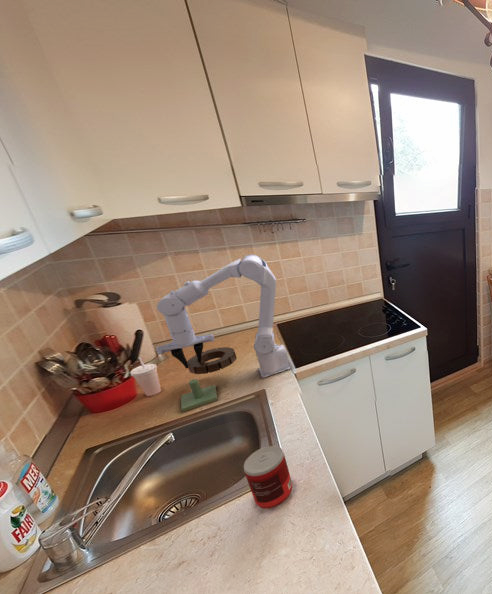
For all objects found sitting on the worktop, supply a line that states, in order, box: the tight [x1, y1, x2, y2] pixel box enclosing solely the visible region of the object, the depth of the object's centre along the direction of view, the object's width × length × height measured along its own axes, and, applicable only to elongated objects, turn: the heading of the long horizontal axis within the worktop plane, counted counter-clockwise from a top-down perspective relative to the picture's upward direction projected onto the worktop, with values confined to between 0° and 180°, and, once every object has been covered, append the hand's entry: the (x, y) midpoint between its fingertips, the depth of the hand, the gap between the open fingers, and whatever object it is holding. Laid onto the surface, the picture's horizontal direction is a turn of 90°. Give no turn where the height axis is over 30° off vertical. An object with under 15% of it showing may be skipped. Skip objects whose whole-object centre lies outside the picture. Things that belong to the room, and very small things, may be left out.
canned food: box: [243, 445, 293, 510], centre depth 75 cm, size 8×8×11 cm
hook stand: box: [180, 378, 218, 413], centre depth 108 cm, size 9×9×7 cm
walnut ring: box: [187, 346, 238, 375], centre depth 116 cm, size 13×13×3 cm
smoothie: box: [129, 356, 162, 397], centre depth 111 cm, size 6×6×14 cm
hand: (194, 365), depth 113 cm, fingers closed on walnut ring, 3 cm apart
